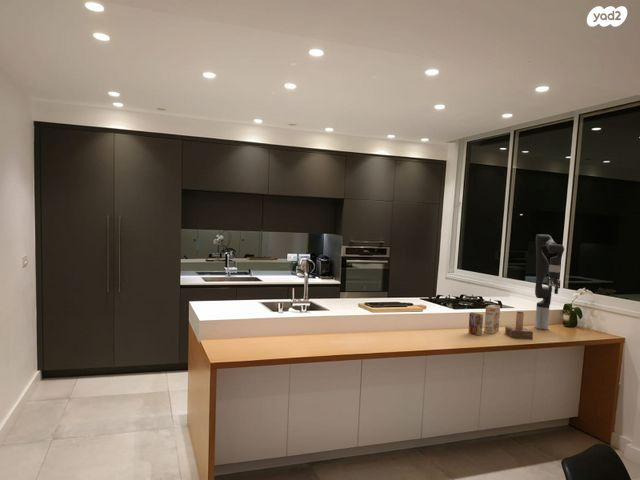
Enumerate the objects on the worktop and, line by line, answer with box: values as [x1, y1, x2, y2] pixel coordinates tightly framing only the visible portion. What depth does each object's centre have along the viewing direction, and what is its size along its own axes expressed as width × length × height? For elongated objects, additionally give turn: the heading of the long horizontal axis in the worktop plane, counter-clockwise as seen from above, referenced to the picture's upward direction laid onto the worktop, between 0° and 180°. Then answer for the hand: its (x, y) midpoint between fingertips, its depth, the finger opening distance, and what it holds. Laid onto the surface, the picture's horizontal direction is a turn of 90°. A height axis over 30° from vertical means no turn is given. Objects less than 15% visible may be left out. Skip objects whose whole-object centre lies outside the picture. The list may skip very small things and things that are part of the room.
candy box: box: [467, 312, 484, 337], centre depth 325 cm, size 9×4×15 cm, turn 39°
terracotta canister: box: [515, 310, 525, 330], centre depth 326 cm, size 5×5×13 cm
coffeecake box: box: [483, 304, 501, 335], centre depth 336 cm, size 15×7×20 cm, turn 143°
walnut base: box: [504, 326, 534, 340], centre depth 326 cm, size 14×14×5 cm
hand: (553, 293), depth 331 cm, fingers open, 8 cm apart
